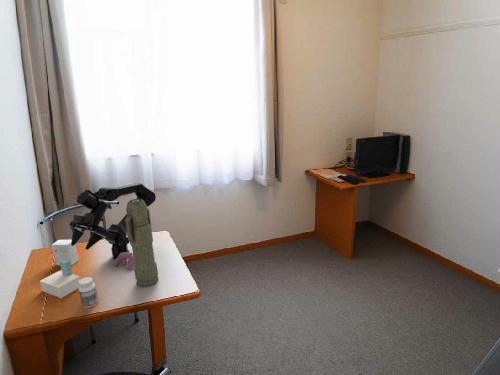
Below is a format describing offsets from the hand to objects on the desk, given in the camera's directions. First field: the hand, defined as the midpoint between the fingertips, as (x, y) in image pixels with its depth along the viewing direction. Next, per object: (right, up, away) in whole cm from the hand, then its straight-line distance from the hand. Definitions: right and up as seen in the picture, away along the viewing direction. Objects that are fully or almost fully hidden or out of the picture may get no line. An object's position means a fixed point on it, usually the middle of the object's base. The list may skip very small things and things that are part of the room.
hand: (79, 247), depth 148 cm
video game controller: (+16, -10, +11) cm, 22 cm away
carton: (-4, -16, -5) cm, 17 cm away
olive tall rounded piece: (+30, -14, -3) cm, 33 cm away
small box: (-13, -10, +16) cm, 23 cm away
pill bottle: (+12, -18, -16) cm, 27 cm away
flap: (-5, -12, -6) cm, 14 cm away
